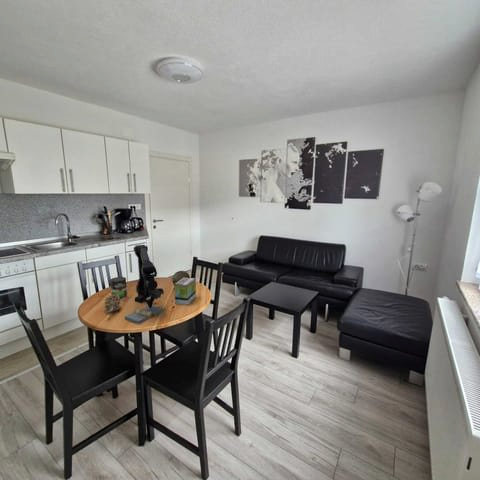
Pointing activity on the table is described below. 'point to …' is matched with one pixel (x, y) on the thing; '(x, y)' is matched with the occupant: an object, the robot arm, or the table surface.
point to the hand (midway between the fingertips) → (150, 307)
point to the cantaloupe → (179, 276)
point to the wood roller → (143, 312)
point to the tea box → (185, 291)
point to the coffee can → (119, 287)
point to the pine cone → (112, 303)
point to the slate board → (139, 318)
